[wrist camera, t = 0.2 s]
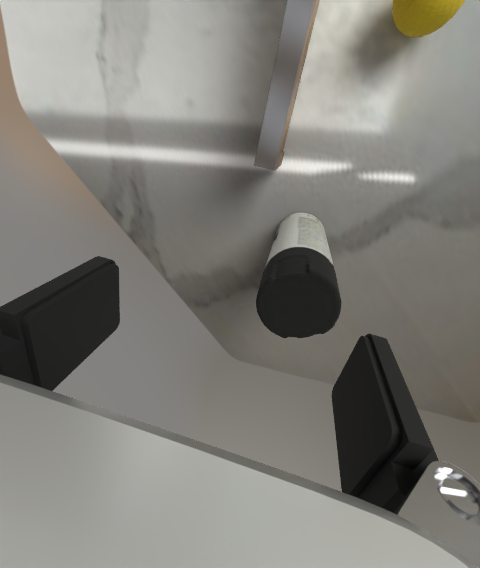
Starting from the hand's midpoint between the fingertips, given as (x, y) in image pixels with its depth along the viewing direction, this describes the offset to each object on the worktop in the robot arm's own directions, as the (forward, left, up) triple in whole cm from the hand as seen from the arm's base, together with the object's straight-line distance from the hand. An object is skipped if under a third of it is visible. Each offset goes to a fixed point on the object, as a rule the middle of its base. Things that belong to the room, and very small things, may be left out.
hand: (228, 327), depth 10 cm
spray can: (+4, +4, -30) cm, 31 cm away
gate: (-14, -2, -30) cm, 33 cm away
